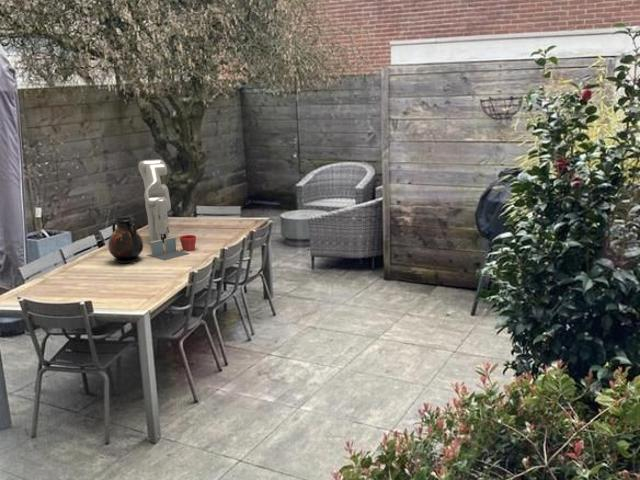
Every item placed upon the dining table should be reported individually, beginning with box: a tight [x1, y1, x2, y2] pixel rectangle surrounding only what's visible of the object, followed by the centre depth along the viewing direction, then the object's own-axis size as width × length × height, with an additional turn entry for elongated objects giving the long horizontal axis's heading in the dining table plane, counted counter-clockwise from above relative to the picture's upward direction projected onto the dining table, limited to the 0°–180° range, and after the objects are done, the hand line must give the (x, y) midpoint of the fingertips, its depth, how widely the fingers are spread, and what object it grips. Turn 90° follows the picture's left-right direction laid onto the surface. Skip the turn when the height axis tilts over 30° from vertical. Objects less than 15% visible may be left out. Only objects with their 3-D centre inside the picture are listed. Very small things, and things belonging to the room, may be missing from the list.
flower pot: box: [179, 234, 197, 252], centre depth 412 cm, size 11×11×10 cm
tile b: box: [150, 240, 164, 256], centre depth 398 cm, size 2×8×10 cm, turn 141°
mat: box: [146, 249, 190, 261], centre depth 400 cm, size 20×21×1 cm
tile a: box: [163, 236, 177, 253], centre depth 406 cm, size 2×8×10 cm, turn 140°
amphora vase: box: [107, 216, 144, 265], centre depth 384 cm, size 22×22×28 cm
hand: (163, 243), depth 410 cm, fingers closed
